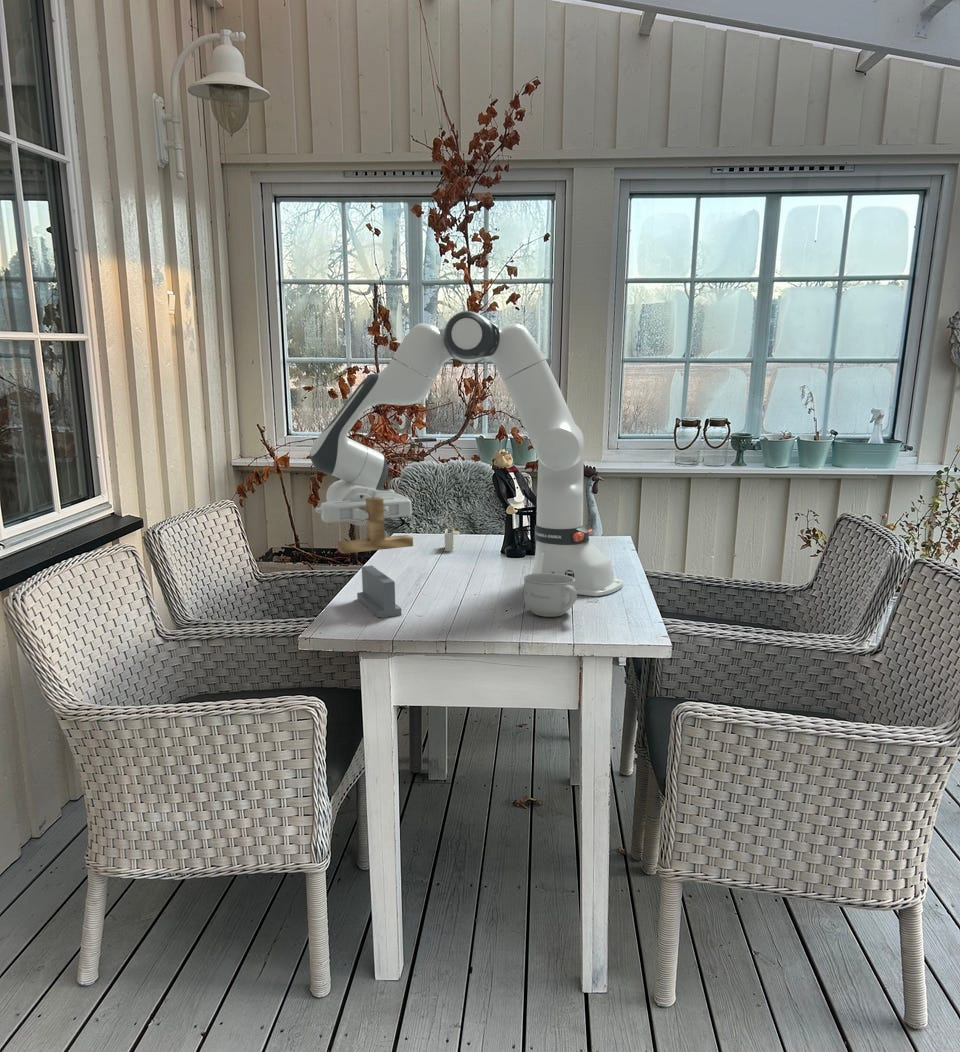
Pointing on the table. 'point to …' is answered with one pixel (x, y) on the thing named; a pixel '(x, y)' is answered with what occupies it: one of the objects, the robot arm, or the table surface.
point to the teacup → (549, 593)
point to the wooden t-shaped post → (375, 532)
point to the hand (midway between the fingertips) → (376, 515)
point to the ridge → (378, 593)
